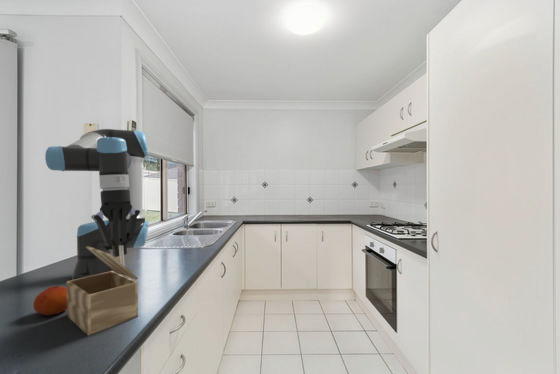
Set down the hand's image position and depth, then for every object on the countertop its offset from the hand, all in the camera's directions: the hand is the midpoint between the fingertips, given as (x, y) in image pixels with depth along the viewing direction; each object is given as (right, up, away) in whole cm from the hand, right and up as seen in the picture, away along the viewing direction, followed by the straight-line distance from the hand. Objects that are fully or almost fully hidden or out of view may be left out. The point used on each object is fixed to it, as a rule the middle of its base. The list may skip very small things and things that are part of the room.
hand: (120, 266), depth 80 cm
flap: (-2, +2, -2) cm, 3 cm away
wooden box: (-3, -13, -4) cm, 14 cm away
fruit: (-19, -14, -1) cm, 24 cm away
